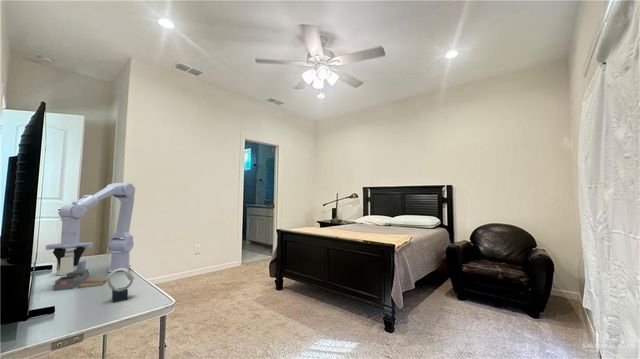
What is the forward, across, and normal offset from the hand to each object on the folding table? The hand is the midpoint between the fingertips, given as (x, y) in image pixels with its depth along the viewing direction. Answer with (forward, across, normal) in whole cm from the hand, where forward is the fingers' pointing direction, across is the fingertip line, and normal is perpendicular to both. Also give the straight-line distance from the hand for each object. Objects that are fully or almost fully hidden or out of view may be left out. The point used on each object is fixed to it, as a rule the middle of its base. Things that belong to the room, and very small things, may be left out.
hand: (68, 266), depth 110 cm
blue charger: (+6, 0, +10) cm, 12 cm away
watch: (+9, +23, -23) cm, 34 cm away
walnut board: (+8, +8, +1) cm, 12 cm away
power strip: (+8, 0, +8) cm, 12 cm away
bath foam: (+9, -8, +22) cm, 25 cm away
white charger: (+2, 0, 0) cm, 2 cm away
